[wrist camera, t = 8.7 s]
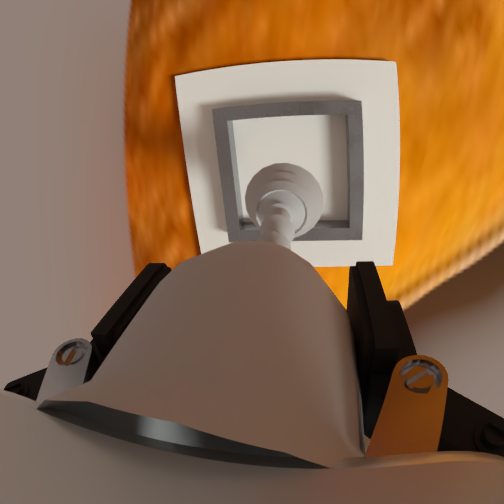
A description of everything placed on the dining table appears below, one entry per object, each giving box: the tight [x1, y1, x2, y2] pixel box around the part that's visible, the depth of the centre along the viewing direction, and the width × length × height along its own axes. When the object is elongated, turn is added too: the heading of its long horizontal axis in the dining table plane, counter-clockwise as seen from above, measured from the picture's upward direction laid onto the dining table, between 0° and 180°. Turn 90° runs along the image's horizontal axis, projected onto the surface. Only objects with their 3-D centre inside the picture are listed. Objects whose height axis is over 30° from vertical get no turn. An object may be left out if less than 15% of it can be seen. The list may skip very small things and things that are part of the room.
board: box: [175, 59, 400, 267], centre depth 29 cm, size 20×20×1 cm
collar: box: [212, 100, 364, 242], centre depth 27 cm, size 12×12×2 cm
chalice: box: [37, 163, 365, 468], centre depth 12 cm, size 7×7×18 cm
